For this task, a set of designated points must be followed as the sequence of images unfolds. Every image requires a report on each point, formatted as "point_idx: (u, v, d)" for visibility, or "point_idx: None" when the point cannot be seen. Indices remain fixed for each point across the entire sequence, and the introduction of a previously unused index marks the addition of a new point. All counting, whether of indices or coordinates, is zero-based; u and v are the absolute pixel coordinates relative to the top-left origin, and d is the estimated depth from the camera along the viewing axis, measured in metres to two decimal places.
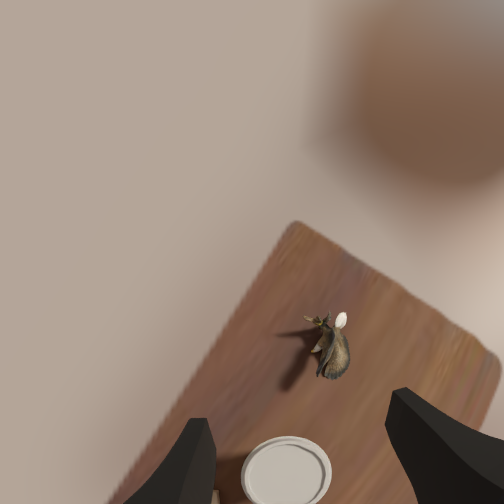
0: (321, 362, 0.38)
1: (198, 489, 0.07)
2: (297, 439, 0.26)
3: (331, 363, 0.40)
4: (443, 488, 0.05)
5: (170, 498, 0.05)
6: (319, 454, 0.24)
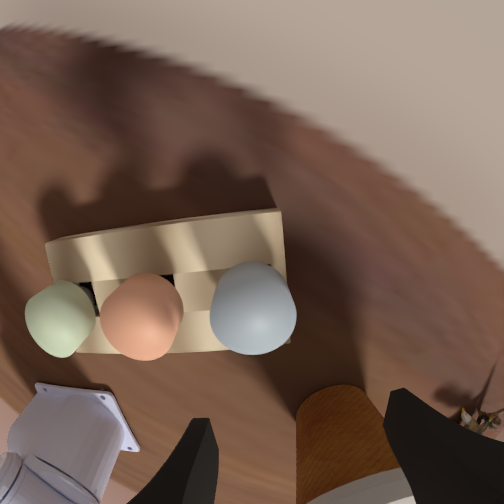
0: None
1: (201, 489, 0.07)
2: None
3: None
4: (441, 489, 0.05)
5: (173, 498, 0.05)
6: None
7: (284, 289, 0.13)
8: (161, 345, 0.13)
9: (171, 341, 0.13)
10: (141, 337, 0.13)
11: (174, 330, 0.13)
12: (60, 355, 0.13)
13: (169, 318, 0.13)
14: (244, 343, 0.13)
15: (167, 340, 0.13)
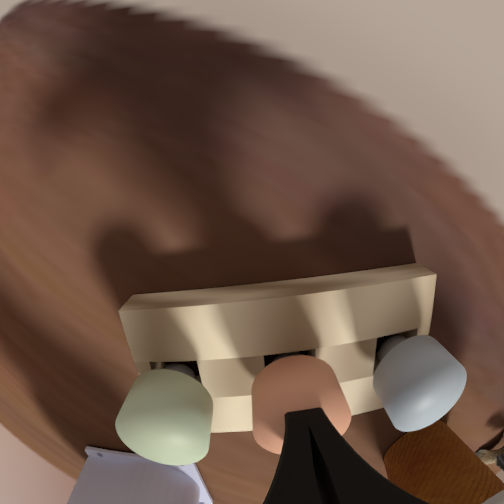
0: (503, 458, 0.16)
1: None
2: None
3: (489, 455, 0.19)
4: None
5: (309, 493, 0.05)
6: None
7: (463, 367, 0.09)
8: None
9: (342, 433, 0.10)
10: None
11: None
12: (173, 463, 0.10)
13: (349, 413, 0.10)
14: (415, 422, 0.10)
15: None
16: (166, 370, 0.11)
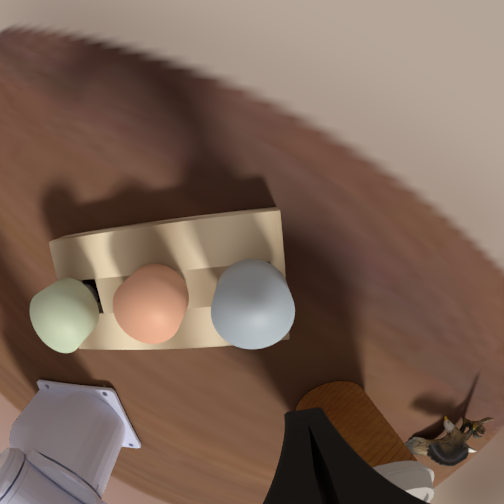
0: (439, 448, 0.20)
1: None
2: None
3: (427, 445, 0.23)
4: None
5: (309, 493, 0.05)
6: None
7: (283, 285, 0.13)
8: (169, 329, 0.15)
9: (178, 325, 0.15)
10: (150, 321, 0.15)
11: (181, 315, 0.15)
12: (64, 351, 0.14)
13: (177, 304, 0.14)
14: (244, 338, 0.14)
15: (174, 324, 0.15)
16: (68, 278, 0.15)
